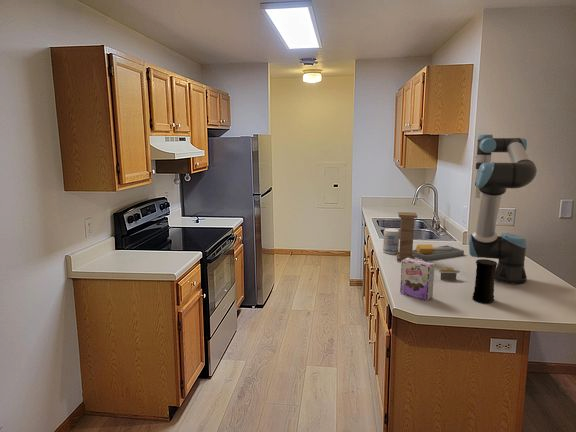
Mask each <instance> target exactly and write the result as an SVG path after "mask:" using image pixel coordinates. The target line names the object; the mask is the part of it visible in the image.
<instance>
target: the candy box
mask: <svg viewBox="0 0 576 432" xmlns="http://www.w3.org/2000/svg"><path fill="white" fill-rule="evenodd" d="M435 267H436V264H435V263H433V262H428V261H424V260H421V259H416V258H415V259H411V258H406V259H403V260H402V262H401V267H400V268H401V269H400V270H401V271H400V290H399V293H400V292H401V293H400V294H402V293H404V294H403V295H405V294H407V295H406V296H409V295H410V296H409V297H412V296H414V297H413V298H415V297H417V299H419V298H420V299H419V300H422V299H423V301H426V300H427V301H429V300H431V299H432V298H433V297H434V295H433V292H434V280H435Z"/></svg>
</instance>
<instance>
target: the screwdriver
mask: <svg viewBox="0 0 576 432" xmlns="http://www.w3.org/2000/svg"><path fill="white" fill-rule="evenodd" d="M452 247H453V246H451V247H439V246H433V245H432V244H417V245H416V248H415V249H414V250H416V251H417V253H420V254H432V253H433V251H452Z"/></svg>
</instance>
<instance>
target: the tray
mask: <svg viewBox="0 0 576 432" xmlns="http://www.w3.org/2000/svg"><path fill="white" fill-rule="evenodd" d="M438 247H452V251H433V253H432V254H420V253H417V251H416V250H415V249H413V251H412V255H414V258H416V257H417V258H416V259H418V260H421V259H422V260H421V261H424V262H428V261H437V260H440V259H441V260H442V259H448V258H455V257H461V256H464V255H465V250H463V249H459V248H458V247H454V246H451V245H448V244H447V245H440V246H438Z"/></svg>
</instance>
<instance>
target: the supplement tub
mask: <svg viewBox="0 0 576 432" xmlns="http://www.w3.org/2000/svg"><path fill="white" fill-rule="evenodd" d="M382 245H383V247H382V248H383V249H382V251H383V253H384V254H387V253H388V254H387V255H396V253H397V254H399V248H400V229H397V228H385V229H384V231H383V243H382Z"/></svg>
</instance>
